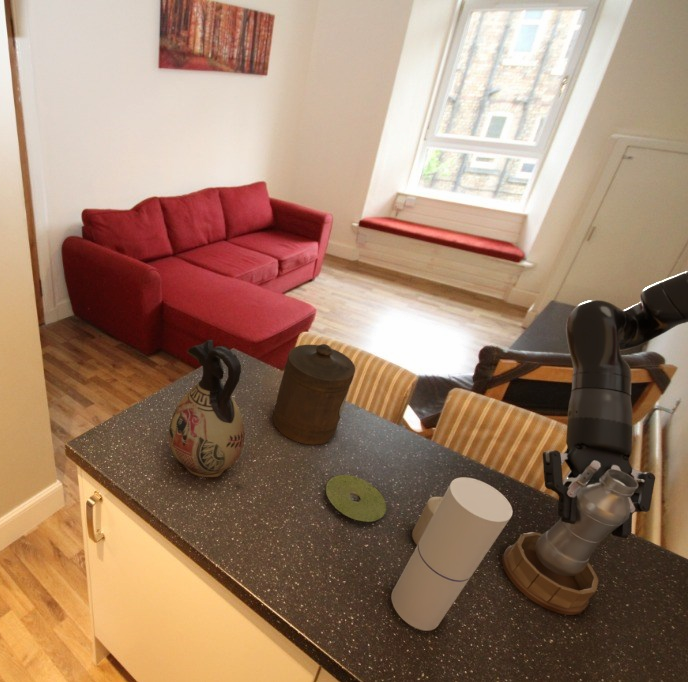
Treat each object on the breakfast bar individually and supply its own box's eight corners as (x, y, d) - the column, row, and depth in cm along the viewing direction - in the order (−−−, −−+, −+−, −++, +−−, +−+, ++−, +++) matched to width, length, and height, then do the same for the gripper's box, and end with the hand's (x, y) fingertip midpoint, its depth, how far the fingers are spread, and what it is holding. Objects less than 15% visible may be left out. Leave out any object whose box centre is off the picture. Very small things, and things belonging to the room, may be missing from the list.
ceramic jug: (151, 454, 95) (158, 332, 80) (206, 428, 104) (222, 313, 89) (202, 509, 84) (221, 378, 69) (259, 475, 92) (287, 352, 77)
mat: (358, 476, 94) (360, 470, 93) (396, 520, 85) (399, 513, 84) (312, 487, 90) (314, 480, 89) (347, 534, 81) (349, 527, 80)
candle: (407, 525, 84) (426, 488, 79) (437, 530, 83) (458, 493, 78) (417, 551, 79) (437, 514, 74) (449, 557, 79) (472, 519, 74)
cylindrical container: (392, 619, 68) (454, 510, 56) (390, 578, 74) (446, 470, 62) (443, 638, 67) (519, 529, 54) (436, 594, 72) (504, 487, 60)
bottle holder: (567, 560, 80) (582, 542, 77) (600, 626, 70) (618, 608, 67) (493, 539, 83) (504, 521, 80) (514, 599, 73) (528, 581, 70)
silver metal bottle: (526, 562, 74) (592, 478, 64) (533, 537, 78) (595, 454, 68) (574, 590, 70) (652, 505, 60) (578, 562, 75) (651, 478, 65)
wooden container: (347, 439, 104) (375, 359, 93) (293, 450, 99) (315, 368, 88) (311, 400, 116) (332, 326, 105) (261, 409, 111) (277, 332, 100)
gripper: (562, 407, 69) (555, 517, 66) (673, 431, 66) (673, 549, 62) (533, 413, 77) (525, 513, 73) (633, 435, 73) (630, 541, 69)
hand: (593, 529), depth 67 cm, fingers closed on silver metal bottle, 6 cm apart
